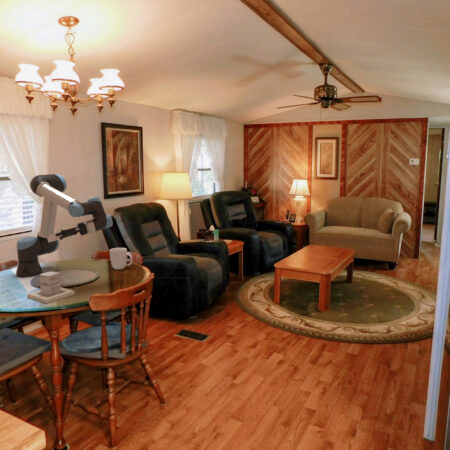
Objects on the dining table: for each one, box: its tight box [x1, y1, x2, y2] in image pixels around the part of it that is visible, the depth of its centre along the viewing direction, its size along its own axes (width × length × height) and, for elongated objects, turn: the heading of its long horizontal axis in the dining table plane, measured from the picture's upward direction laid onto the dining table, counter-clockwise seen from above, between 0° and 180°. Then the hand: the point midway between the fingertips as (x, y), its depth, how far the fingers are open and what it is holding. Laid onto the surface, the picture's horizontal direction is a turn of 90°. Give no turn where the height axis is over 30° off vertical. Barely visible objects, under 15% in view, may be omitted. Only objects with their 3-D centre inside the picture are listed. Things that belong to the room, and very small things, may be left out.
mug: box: [109, 247, 133, 271], centre depth 281 cm, size 15×11×13 cm
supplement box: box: [39, 270, 62, 297], centre depth 226 cm, size 7×7×13 cm
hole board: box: [26, 286, 76, 304], centre depth 227 cm, size 17×17×2 cm
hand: (48, 238), depth 237 cm, fingers open, 13 cm apart
